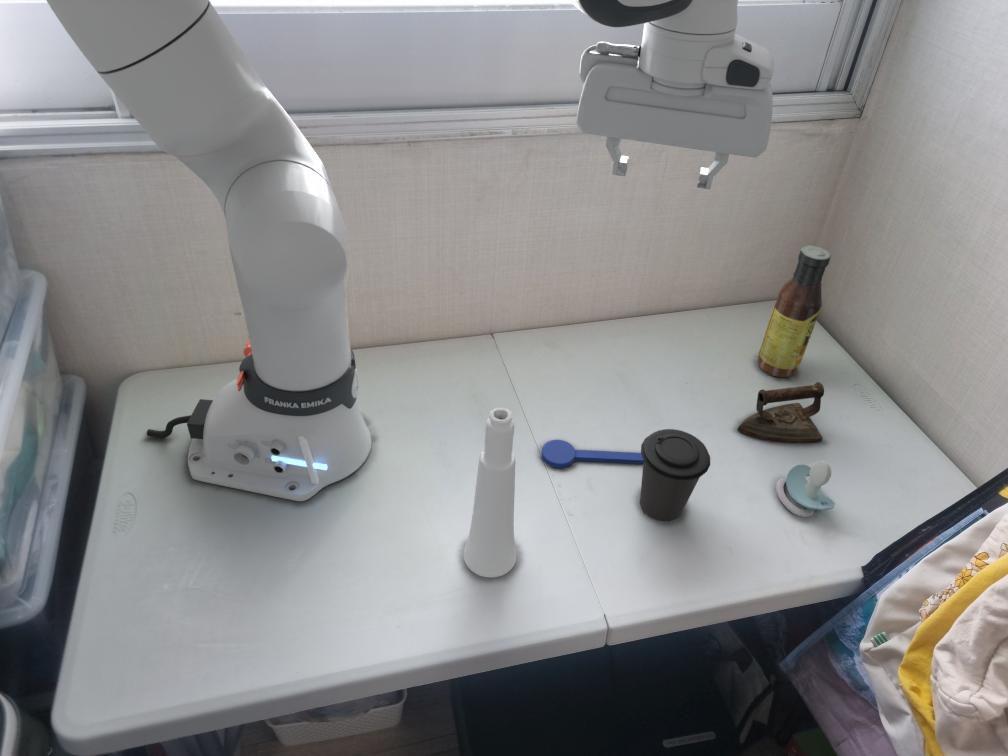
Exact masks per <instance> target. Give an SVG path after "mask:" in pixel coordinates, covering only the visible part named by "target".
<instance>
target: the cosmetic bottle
mask: <svg viewBox="0 0 1008 756" xmlns="http://www.w3.org/2000/svg"><path fill="white" fill-rule="evenodd" d="M484 433H485V434H484V449H483V450H482V451H481V452H480V455H479V458H478V467H477V475H476V482H475V491H474V499H473V500H474V501H473V507H472V515H471V520H470V521H471V523H470V527H469V532H468V535H467V540H466V544H465V547H464V549H463V561H464V563H465V565H466V567H467V568H468V569H469V570H470V571H471V572H473V573H474V574H475V575H477V576H480V577H483V578H490V579H491V578H492V579H493V578H498V577H502V576H504V575H506V574H507V573H509V572H510V571H511V570H513V568H514V566H515V565H516V563H517V557H518V553H517V549H516V541H515V494H516V493H515V491H516V490H515V489H516V456H515V454H514V452H513V447H514V445H513V444H514V435H515V434H514V433H515V422H514V419H513V413H512V411H511V410H510V409H508V408H507V407H502V406H501V407H500V406H498V407H495V408H492V409H491V410H490V411H489V413H488V418H487V420H486V422H485V432H484Z"/></svg>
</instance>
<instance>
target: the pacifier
mask: <svg viewBox="0 0 1008 756" xmlns="http://www.w3.org/2000/svg"><path fill="white" fill-rule="evenodd" d="M806 477H808V479H807V478H806ZM831 477H832V468H831V465H829V463H828V462H826V461H825V460H816V461H815V462H814V463H812V465H811V466H810V465H807V464H797V465H795V466H793V467H792V468H791V469H790V470H788V473H787V474H786V477H781V478H780V479H778V480H777V482H776V486H775V489H776V494H777V497H778V499H779V501H780V502H781V504H782V505H783V506H784V507H785V508H786V509H787V510H788V511H790V512H791V513H792V514H794V515H796V516H799V517H802V518H808V517H811V516H812V515H814V513H815V511H816V510H817V511H828V510H829V511H830V510H833V509H834V508H835V506H836V503H835V502H834V500H833V499H832V498H830V497H829V496H827V495H825V494H823V493H822V492H821V489H822V488H821V487H822V486H824V485H826V484H828V482H829V481H830V480H831ZM785 486H786V489H787V492H788V493H789V496H790V497H791V498H792V499H793V500H794V501H795V502H796V503H797V504H799V506H801V507H803V508H805V509H802V508H799V507H798V506H796V505H795V504H793V502H791V501H790V500H789V498H788V497H787V495H786V493H785V489H784V487H785Z"/></svg>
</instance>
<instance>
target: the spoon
mask: <svg viewBox="0 0 1008 756" xmlns="http://www.w3.org/2000/svg"><path fill="white" fill-rule="evenodd" d="M541 458H542V460H543V461H544V463H546V464H547V465H548V466H550V467H553V468H558V469H563V468H567V467H570V466H571V465H572V464H574V462H575V461H584V462H603V463H622V464H623V463H624V464H626V463H627V464H642V465H643V462H644V460H643V457H642V454H641V452H630V451H629V452H628V451H611V450H610V451H609V450H589V449H588V450H587V449H575V447H574V446H573V445H572V444H571V443H570V442H568V441H567V440H563V439H552V440H549V441H547V442H545V443H544V444H543V446H542V448H541Z"/></svg>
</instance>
